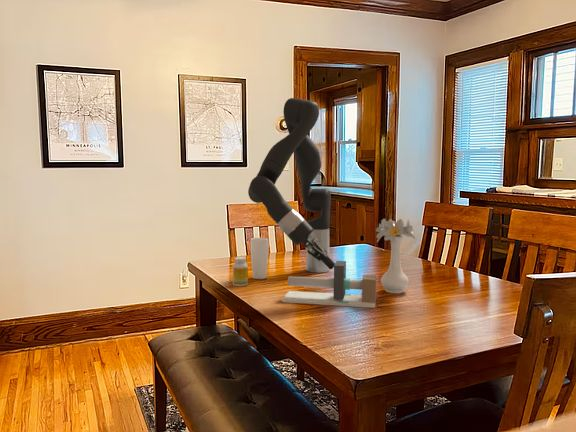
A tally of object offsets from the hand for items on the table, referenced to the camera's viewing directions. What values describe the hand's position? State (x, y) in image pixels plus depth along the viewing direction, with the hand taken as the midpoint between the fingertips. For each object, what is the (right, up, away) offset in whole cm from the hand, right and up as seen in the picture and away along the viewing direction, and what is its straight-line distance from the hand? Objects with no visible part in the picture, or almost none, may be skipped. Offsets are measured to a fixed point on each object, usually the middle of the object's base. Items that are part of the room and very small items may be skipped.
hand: (333, 267), depth 156 cm
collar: (+2, -9, +1) cm, 9 cm away
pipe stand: (-1, -11, +2) cm, 11 cm away
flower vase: (+22, -10, +14) cm, 28 cm away
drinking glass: (-25, -8, +32) cm, 41 cm away
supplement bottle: (-31, -9, +22) cm, 39 cm away
